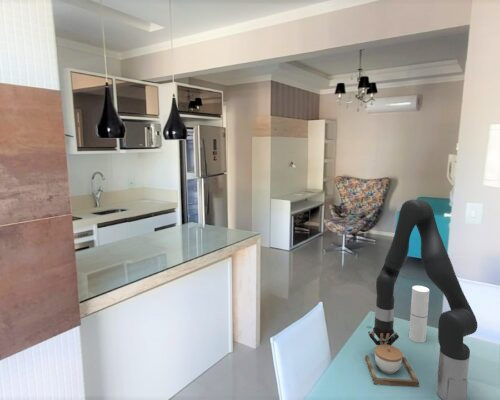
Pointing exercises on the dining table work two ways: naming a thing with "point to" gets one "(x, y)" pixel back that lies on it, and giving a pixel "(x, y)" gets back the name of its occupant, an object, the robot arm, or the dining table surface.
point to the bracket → (396, 382)
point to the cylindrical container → (419, 313)
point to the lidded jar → (388, 358)
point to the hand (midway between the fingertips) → (382, 353)
